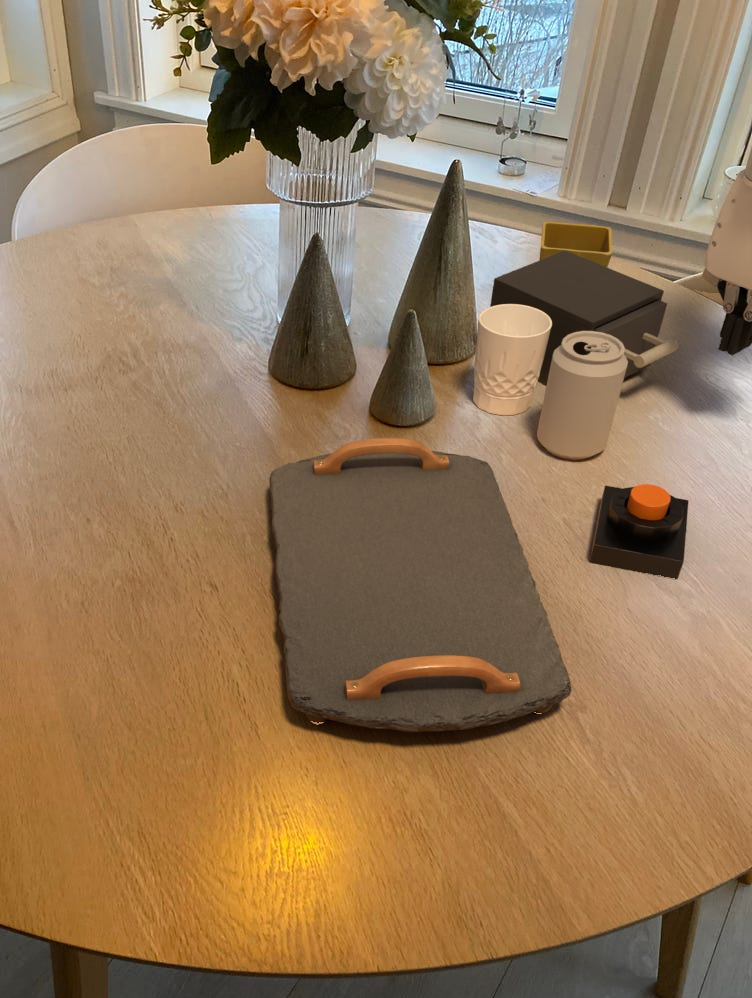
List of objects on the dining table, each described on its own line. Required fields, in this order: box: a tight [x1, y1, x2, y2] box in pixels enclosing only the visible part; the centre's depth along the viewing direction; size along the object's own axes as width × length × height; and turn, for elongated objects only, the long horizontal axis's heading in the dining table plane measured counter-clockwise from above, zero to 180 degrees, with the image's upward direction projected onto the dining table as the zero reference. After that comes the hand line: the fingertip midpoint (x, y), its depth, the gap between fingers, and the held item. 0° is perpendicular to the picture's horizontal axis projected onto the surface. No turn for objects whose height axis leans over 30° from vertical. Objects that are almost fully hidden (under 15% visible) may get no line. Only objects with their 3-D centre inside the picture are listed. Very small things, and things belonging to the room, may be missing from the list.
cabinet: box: [489, 251, 665, 386], centre depth 119 cm, size 15×13×10 cm
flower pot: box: [538, 221, 613, 268], centre depth 130 cm, size 9×9×9 cm
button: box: [627, 483, 671, 520], centre depth 93 cm, size 4×4×2 cm
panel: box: [589, 485, 689, 580], centre depth 95 cm, size 10×8×4 cm
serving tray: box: [269, 437, 573, 733], centre depth 89 cm, size 39×23×6 cm, turn 3°
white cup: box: [472, 304, 552, 416], centre depth 112 cm, size 8×8×10 cm
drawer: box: [595, 300, 678, 379], centre depth 116 cm, size 18×11×8 cm, turn 38°
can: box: [536, 331, 628, 461], centre depth 104 cm, size 8×8×12 cm
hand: (733, 348), depth 104 cm, fingers closed
